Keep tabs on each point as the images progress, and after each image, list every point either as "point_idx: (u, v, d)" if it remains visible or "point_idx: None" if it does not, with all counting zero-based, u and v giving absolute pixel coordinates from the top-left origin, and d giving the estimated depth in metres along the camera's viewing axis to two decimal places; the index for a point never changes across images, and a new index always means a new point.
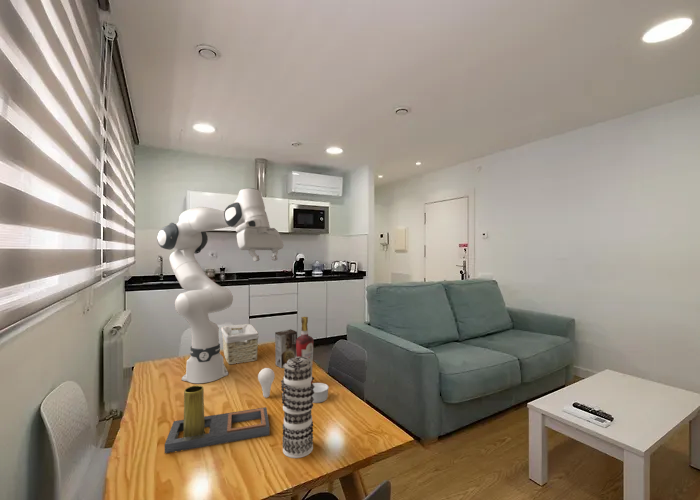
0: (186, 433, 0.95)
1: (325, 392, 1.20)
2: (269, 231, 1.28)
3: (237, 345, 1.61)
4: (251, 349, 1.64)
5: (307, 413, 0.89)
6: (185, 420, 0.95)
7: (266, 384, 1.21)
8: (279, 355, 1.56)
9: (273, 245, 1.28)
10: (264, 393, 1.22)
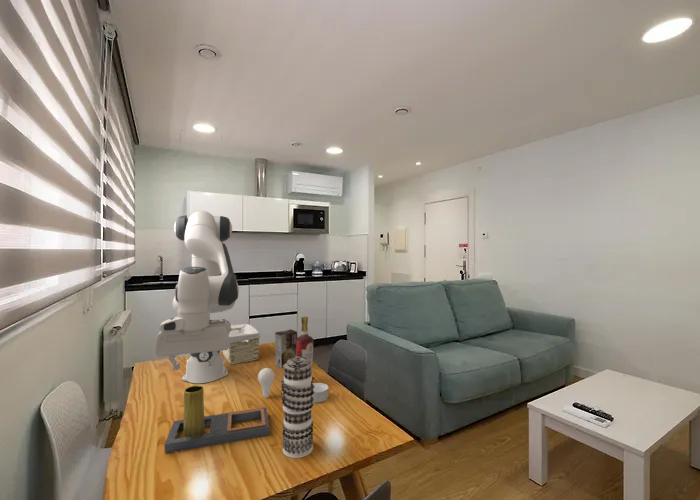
0: (186, 433, 0.95)
1: (325, 392, 1.20)
2: (207, 329, 0.97)
3: (239, 345, 1.61)
4: (252, 349, 1.65)
5: (307, 413, 0.89)
6: (185, 420, 0.95)
7: (266, 384, 1.21)
8: (279, 355, 1.56)
9: (208, 349, 0.97)
10: (264, 393, 1.22)
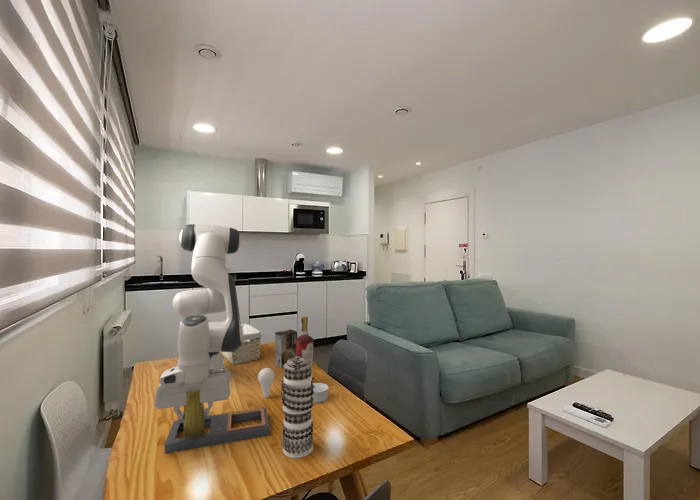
0: (186, 433, 0.95)
1: (325, 392, 1.20)
2: (207, 380, 0.97)
3: (241, 345, 1.62)
4: (254, 348, 1.66)
5: (307, 413, 0.89)
6: (185, 420, 0.95)
7: (266, 384, 1.21)
8: (279, 355, 1.56)
9: (208, 399, 0.97)
10: (264, 393, 1.22)
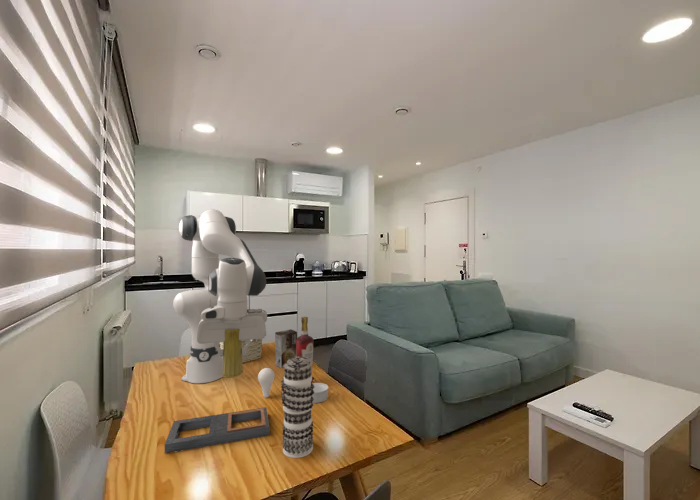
0: (226, 369, 0.98)
1: (325, 392, 1.20)
2: (245, 318, 1.00)
3: (244, 344, 1.63)
4: (256, 347, 1.67)
5: (307, 413, 0.89)
6: (225, 357, 0.98)
7: (266, 384, 1.21)
8: (279, 355, 1.56)
9: (246, 337, 1.00)
10: (264, 393, 1.22)
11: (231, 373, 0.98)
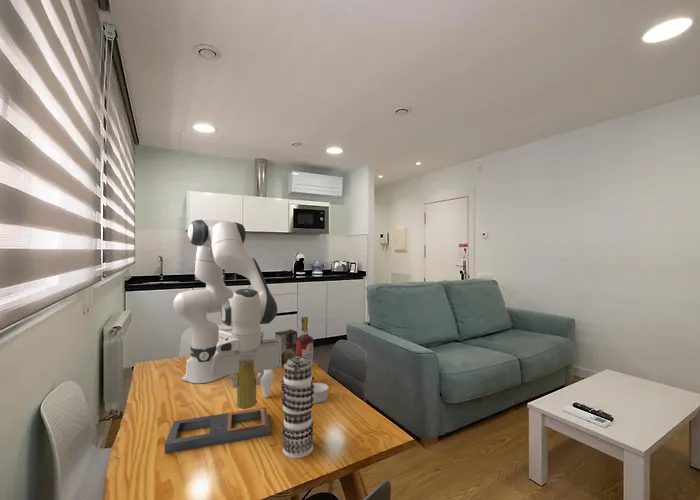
0: (240, 400, 0.99)
1: (325, 392, 1.20)
2: (259, 349, 1.02)
3: None
4: None
5: (307, 413, 0.89)
6: (239, 388, 1.00)
7: (266, 384, 1.21)
8: (279, 355, 1.56)
9: (260, 368, 1.02)
10: (264, 393, 1.22)
11: (246, 405, 0.99)
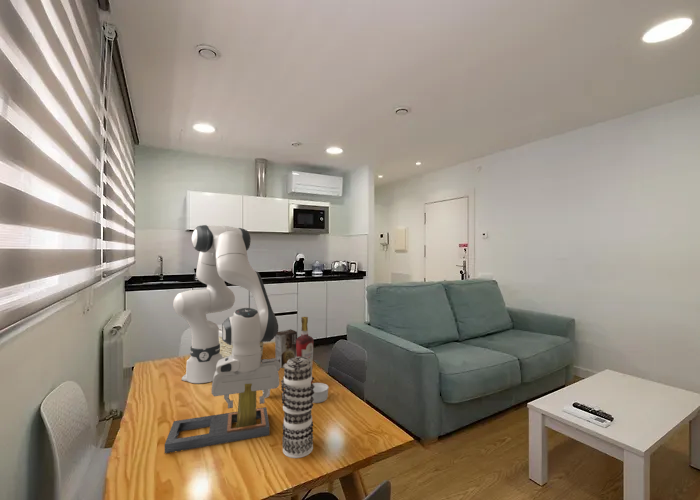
0: (240, 422, 1.00)
1: (325, 392, 1.20)
2: (259, 369, 1.02)
3: None
4: None
5: (307, 413, 0.89)
6: (240, 410, 1.00)
7: None
8: (279, 355, 1.56)
9: (260, 388, 1.02)
10: None
11: None
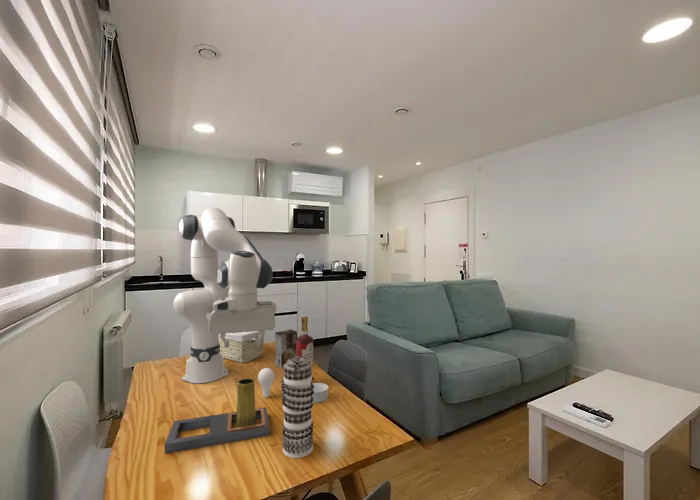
0: (240, 423, 1.00)
1: (325, 392, 1.20)
2: (255, 310, 1.03)
3: (248, 343, 1.65)
4: (259, 345, 1.70)
5: (307, 413, 0.89)
6: (239, 411, 1.00)
7: (266, 384, 1.21)
8: (279, 355, 1.56)
9: (256, 328, 1.03)
10: (264, 393, 1.22)
11: None
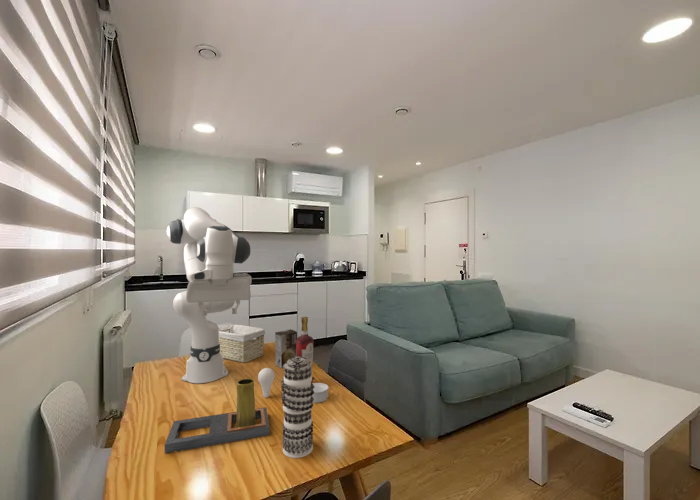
0: (240, 423, 1.00)
1: (325, 392, 1.20)
2: (231, 280, 1.09)
3: (250, 343, 1.65)
4: (259, 345, 1.71)
5: (307, 413, 0.89)
6: (239, 411, 1.00)
7: (266, 384, 1.21)
8: (279, 355, 1.56)
9: (232, 298, 1.09)
10: (264, 393, 1.22)
11: None
